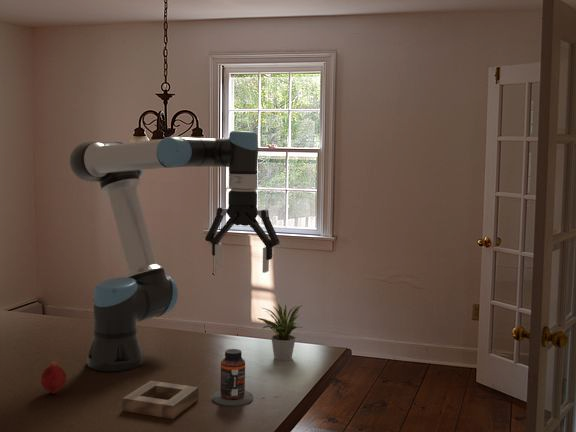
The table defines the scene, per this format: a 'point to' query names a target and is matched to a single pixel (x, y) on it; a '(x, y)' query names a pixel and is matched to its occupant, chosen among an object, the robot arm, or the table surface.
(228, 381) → the supplement bottle
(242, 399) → the grey domed disc
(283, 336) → the house plant
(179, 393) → the pocket holder
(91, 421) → the table surface
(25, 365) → the table surface
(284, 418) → the table surface
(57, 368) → the onion
